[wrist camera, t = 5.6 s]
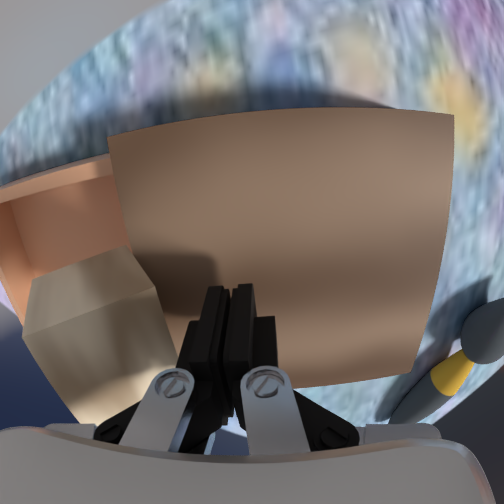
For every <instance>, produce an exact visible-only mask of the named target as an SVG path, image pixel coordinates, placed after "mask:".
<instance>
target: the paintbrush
mask: <svg viewBox="0 0 504 504" xmlns="http://www.w3.org/2000/svg"><path fill="white" fill-rule="evenodd" d="M460 339H461V346H462V349H461V350H459V351H458V352H456V353H455V354H453V355H451V356H450V357H448V358H447V359H445V360H444V361H442V362H441V363H439V364H438V365H436V366H435V367H433V368H432V369H431V370H430V371H429V372H428V373H427V374H426V375H425V376H424V377H423V378H422V379H421V380H420V381H419V382H418V383H417V384H416V385H415V386H414V387H413V389H412V390H411V391H410V392H409V393H408V394H407V396H406V397H405V398H404V399H403V400H402V402H401V403H400V404H399V406H398V407H397V408H396V410H395V411H394V413H393V414H392V416H391V418H390V420H389V422H388V424H413V423H417V422H419V421H420V420H422V419H424V418H425V417H427V416H429V415H430V414H432V413H433V412H434V411H436V410H437V409H439V408H440V407H441V406H442V405H444V404H445V403H446V402H447V401H448V400H449V399H450V398H452V397H453V396H454V395H455V393H456V392H457V391H458V389H459V388H460V386H461V385H462V384H463V382H464V380H465V379H466V377H467V376H468V374H469V372H470V371H471V369H472V367H473V365H474V363H477V364H489V363H493V362H495V361H497V360H498V359H500V358H501V357H502V356H503V355H504V298H501V299H498V300H495V301H492V302H489V303H487V304H485V305H483V306H481V307H479V308H477V309H475V310H474V311H473V312H472V313H470V314H469V316H468V317H467V318H466V320H465V322H464V324H463V326H462V330H461V338H460Z"/></svg>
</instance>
